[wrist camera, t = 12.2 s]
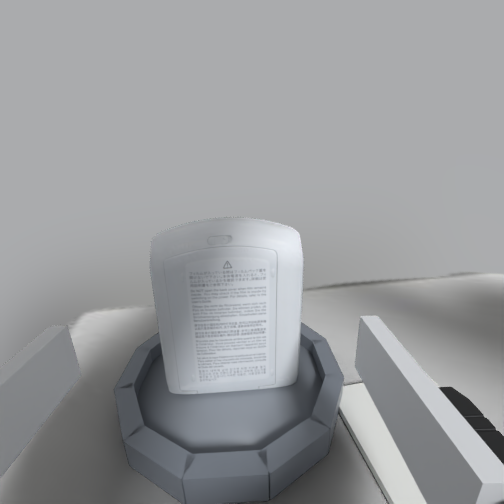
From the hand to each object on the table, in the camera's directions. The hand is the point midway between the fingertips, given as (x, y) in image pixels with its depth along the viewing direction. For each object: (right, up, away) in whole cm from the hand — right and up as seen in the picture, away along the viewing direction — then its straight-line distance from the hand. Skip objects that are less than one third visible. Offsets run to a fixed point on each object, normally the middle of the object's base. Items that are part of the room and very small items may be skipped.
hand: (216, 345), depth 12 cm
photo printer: (0, -6, +9) cm, 10 cm away
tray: (0, -6, +9) cm, 11 cm away
